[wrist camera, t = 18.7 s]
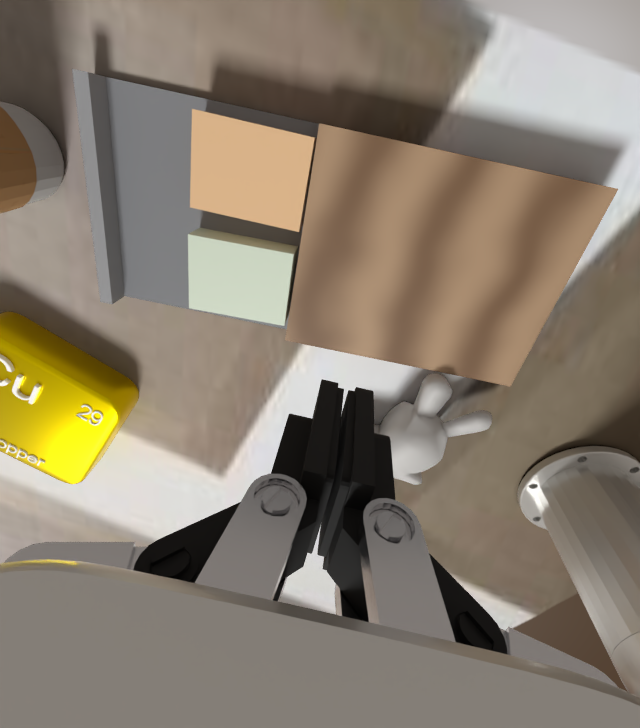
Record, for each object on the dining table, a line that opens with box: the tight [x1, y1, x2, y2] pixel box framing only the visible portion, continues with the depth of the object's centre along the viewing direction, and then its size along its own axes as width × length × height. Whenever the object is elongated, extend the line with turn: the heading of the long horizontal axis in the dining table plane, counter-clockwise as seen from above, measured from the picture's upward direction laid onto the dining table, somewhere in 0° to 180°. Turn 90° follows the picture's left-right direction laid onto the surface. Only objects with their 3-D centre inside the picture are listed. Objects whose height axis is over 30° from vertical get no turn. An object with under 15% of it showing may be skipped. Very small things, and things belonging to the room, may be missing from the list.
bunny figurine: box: [374, 373, 492, 485], centre depth 37 cm, size 10×5×15 cm
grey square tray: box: [72, 69, 319, 329], centre depth 29 cm, size 16×16×2 cm
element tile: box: [0, 312, 139, 484], centre depth 39 cm, size 15×15×5 cm
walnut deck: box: [285, 123, 618, 386], centre depth 30 cm, size 20×16×2 cm
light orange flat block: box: [190, 109, 317, 232], centre depth 27 cm, size 8×6×2 cm
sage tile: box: [188, 228, 298, 326], centre depth 31 cm, size 8×6×2 cm
